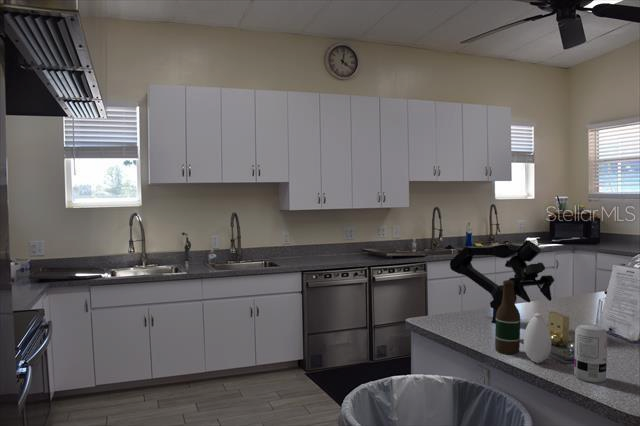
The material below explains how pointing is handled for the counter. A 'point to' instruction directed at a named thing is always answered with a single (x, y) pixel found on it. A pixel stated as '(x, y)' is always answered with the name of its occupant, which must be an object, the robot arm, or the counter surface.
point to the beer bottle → (507, 322)
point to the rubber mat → (554, 347)
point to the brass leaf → (558, 328)
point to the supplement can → (590, 353)
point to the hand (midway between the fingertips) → (540, 301)
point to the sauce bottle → (537, 338)
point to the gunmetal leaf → (565, 352)
